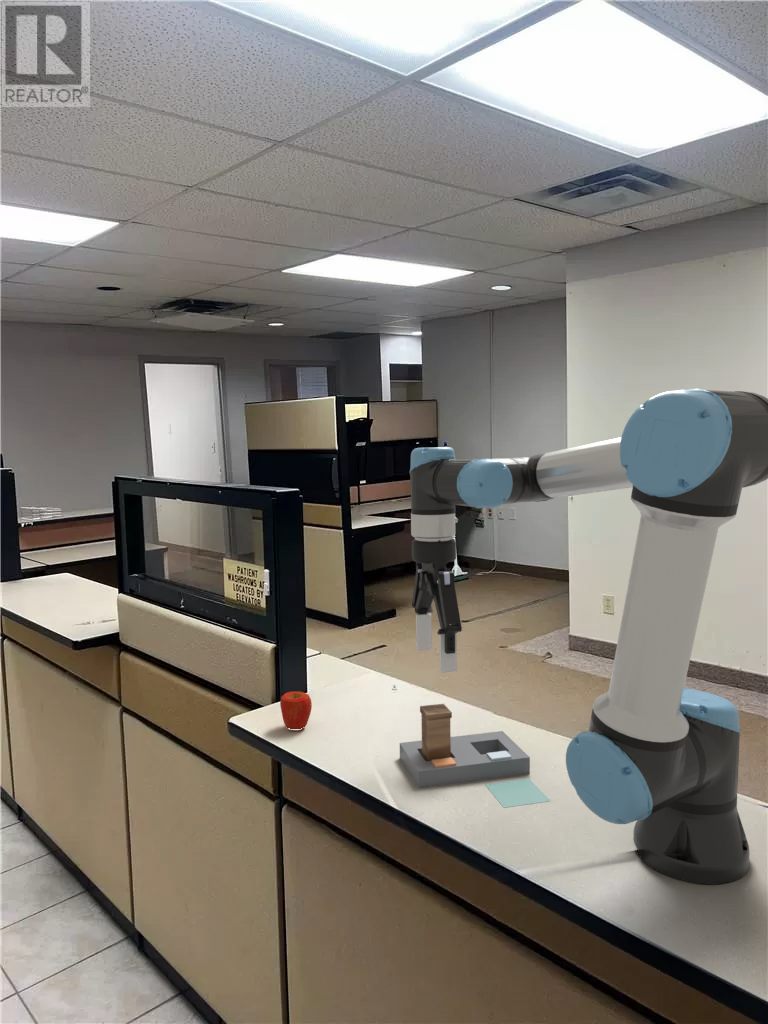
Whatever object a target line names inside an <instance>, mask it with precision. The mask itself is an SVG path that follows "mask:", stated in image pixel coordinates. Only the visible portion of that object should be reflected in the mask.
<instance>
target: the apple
mask: <svg viewBox="0 0 768 1024" xmlns="http://www.w3.org/2000/svg"><path fill="white" fill-rule="evenodd" d="M279 705H280V710H281V716H282V721H283V723H284V726H285V727H287V728H290V729H301V728H303V727H305V728H306V726H307V725H308V722H309V718H310V716H311V713H312V707H313V706H312V705H313V704H312V699H311V696H310V694H308V693H306V692H303V691H288V692H286V693H284V694H283V695H282V696H281V697H280V704H279ZM287 728H286V729H287ZM303 729H304V728H303Z"/></svg>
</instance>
